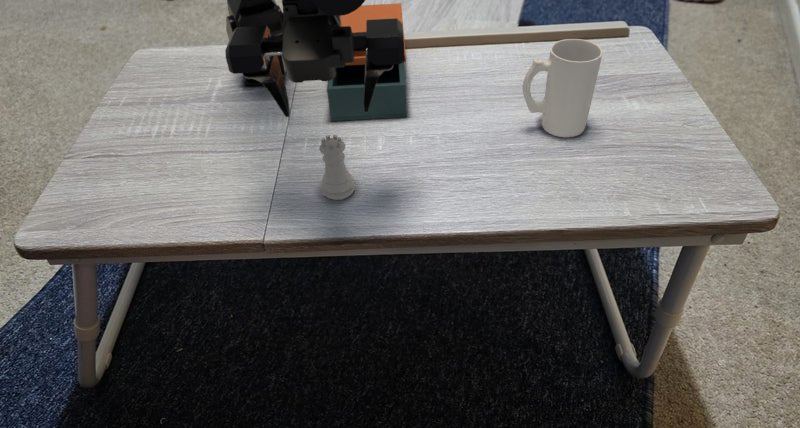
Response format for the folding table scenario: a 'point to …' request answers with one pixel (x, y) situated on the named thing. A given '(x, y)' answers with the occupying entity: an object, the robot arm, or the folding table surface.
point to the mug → (565, 86)
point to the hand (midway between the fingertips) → (327, 112)
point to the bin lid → (370, 12)
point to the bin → (350, 94)
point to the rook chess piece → (335, 170)
